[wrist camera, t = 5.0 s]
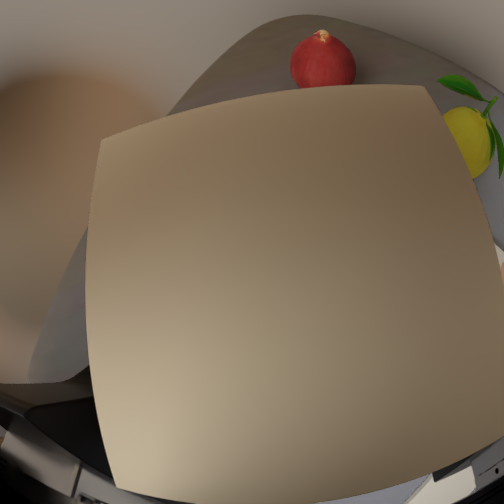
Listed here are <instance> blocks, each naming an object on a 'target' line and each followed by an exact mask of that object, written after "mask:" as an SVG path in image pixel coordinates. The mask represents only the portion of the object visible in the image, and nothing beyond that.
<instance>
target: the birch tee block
mask: <svg viewBox="0 0 504 504" xmlns="http://www.w3.org/2000/svg"><path fill="white" fill-rule="evenodd" d="M85 297H86V327H87V342H88V354H89V363H90V372H91V380H92V387H93V393H94V399H95V405H96V410H97V416H98V421H99V425H100V430H101V434H102V439H103V443H104V447H105V451H106V454H107V458H108V462H109V465H110V468H111V472H112V475H113V478H114V481H115V484H116V487H117V488H120V489H124V490H127V491H131V492H135V493H139V494H144V495H148V496H153V497H158V498H163V499H168V500H174V501H181V502H188V503H196V504H309V503H317V502H325V501H331V500H337V499H343V498H348V497H353V496H357V495H362V494H366V493H370V492H374V491H378V490H382V489H385V488H389V487H392V486H395V485H399V484H402V483H405V482H408V481H411V480H414V479H416V478H419V477H422V476H425V475H427V474H430V473H432V472H435V471H437V470H439V469H442V468H444V467H446V466H449V465H451V464H453V463H455V462H457V461H459V460H461V459H464V458H466V457H468V456H469V455H471V454H473V453H475V452H477V451H479V450H481V449H483V448H484V447H486V446H488V445H490V444H491V443H493V442H495V441H496V440H498V439H500V438H501V437H503V436H504V285H503V280H502V275H501V270H500V265H499V261H498V256H497V252H496V248H495V244H494V240H493V237H492V233H491V230H490V226H489V223H488V220H487V217H486V214H485V211H484V208H483V205H482V202H481V199H480V196H479V194H478V191H477V188H476V186H475V183H474V181H473V178H472V176H471V174H470V171H469V169H468V167H467V164H466V162H465V160H464V158H463V155H462V153H461V151H460V149H459V147H458V145H457V143H456V141H455V139H454V137H453V135H452V133H451V131H450V129H449V128H448V126H447V124H446V122H445V120H444V119H443V117H442V115H441V113H440V112H439V110H438V108H437V107H436V105H435V103H434V102H433V100H432V98H431V97H430V95H429V94H428V92H427V91H426V89H425V88H424V86H416V85H391V84H365V85H339V86H324V87H313V88H303V89H295V90H287V91H279V92H273V93H266V94H260V95H254V96H249V97H244V98H239V99H234V100H229V101H224V102H220V103H215V104H211V105H207V106H203V107H199V108H195V109H192V110H188V111H184V112H181V113H177V114H174V115H170V116H167V117H164V118H161V119H158V120H154V121H151V122H149V123H145V124H142V125H140V126H137V127H134V128H131V129H129V130H126V131H123V132H120V133H118V134H115V135H113V136H110V137H108V138H105V139H103V140H102V141H101V145H100V150H99V155H98V161H97V166H96V172H95V177H94V184H93V190H92V199H91V206H90V215H89V224H88V236H87V251H86V281H85Z"/></svg>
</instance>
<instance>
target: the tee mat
mask: <svg viewBox="0 0 504 504" xmlns="http://www.w3.org/2000/svg"><path fill="white" fill-rule="evenodd" d="M495 248H496V252H497V256H498V261H499V265H500V270H501V275H502V280H503V285H504V251H502V250H501V249H500V248H499V247H498V246H497V245H496V244H495ZM475 487H476V485H475V478H474V474H473V470H472V467H471V466H470V467H468V468H466V469H464V470H462V471H460V472H458V473H455V474H453V475H451V476H449V477H447V478H445V479H442V480H440V481H438V482H434V480H433V476H432V473H431V474H430V475H429V476H428V477H427V478H426V480H425V481H424V482H423V483H422V484H421V485H420V486H419V488H418V489H417V490H416V491H415V492H414V493H413V494H412V495H411V496H410V497H409V498H408V499H407V500H406V501H405V502H404V503H403V504H452V503H454V502H456V501H458V500H460V499H462V498H464V497H466V496H468V495H469V494H470V493H471V492H472V491H473V490H474V488H475Z"/></svg>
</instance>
